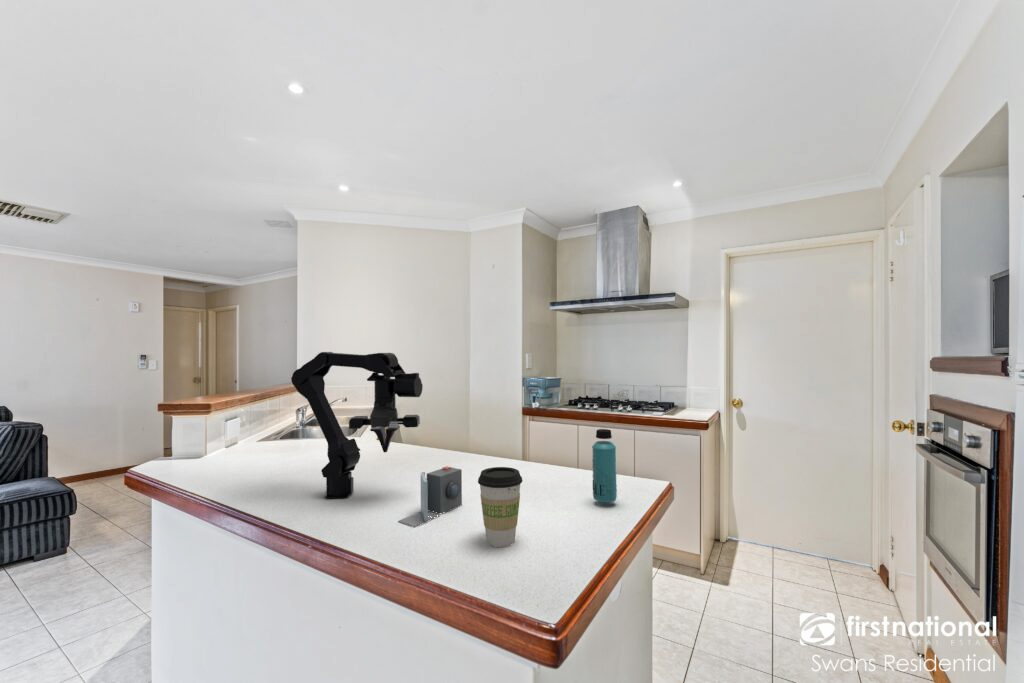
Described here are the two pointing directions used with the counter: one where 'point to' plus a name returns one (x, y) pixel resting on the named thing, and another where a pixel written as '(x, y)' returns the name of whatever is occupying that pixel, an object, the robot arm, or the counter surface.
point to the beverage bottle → (604, 468)
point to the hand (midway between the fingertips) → (385, 452)
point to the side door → (424, 496)
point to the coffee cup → (500, 504)
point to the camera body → (440, 494)
